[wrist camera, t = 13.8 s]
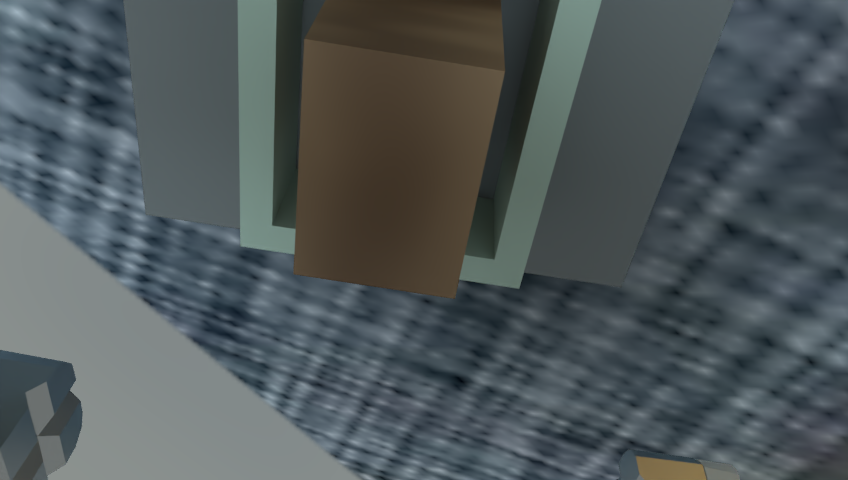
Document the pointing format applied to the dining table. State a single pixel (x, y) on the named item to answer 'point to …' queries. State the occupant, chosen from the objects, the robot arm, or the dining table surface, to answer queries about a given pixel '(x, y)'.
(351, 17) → the walnut block
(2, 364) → the robot arm
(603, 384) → the dining table surface
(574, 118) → the board
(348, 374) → the dining table surface
